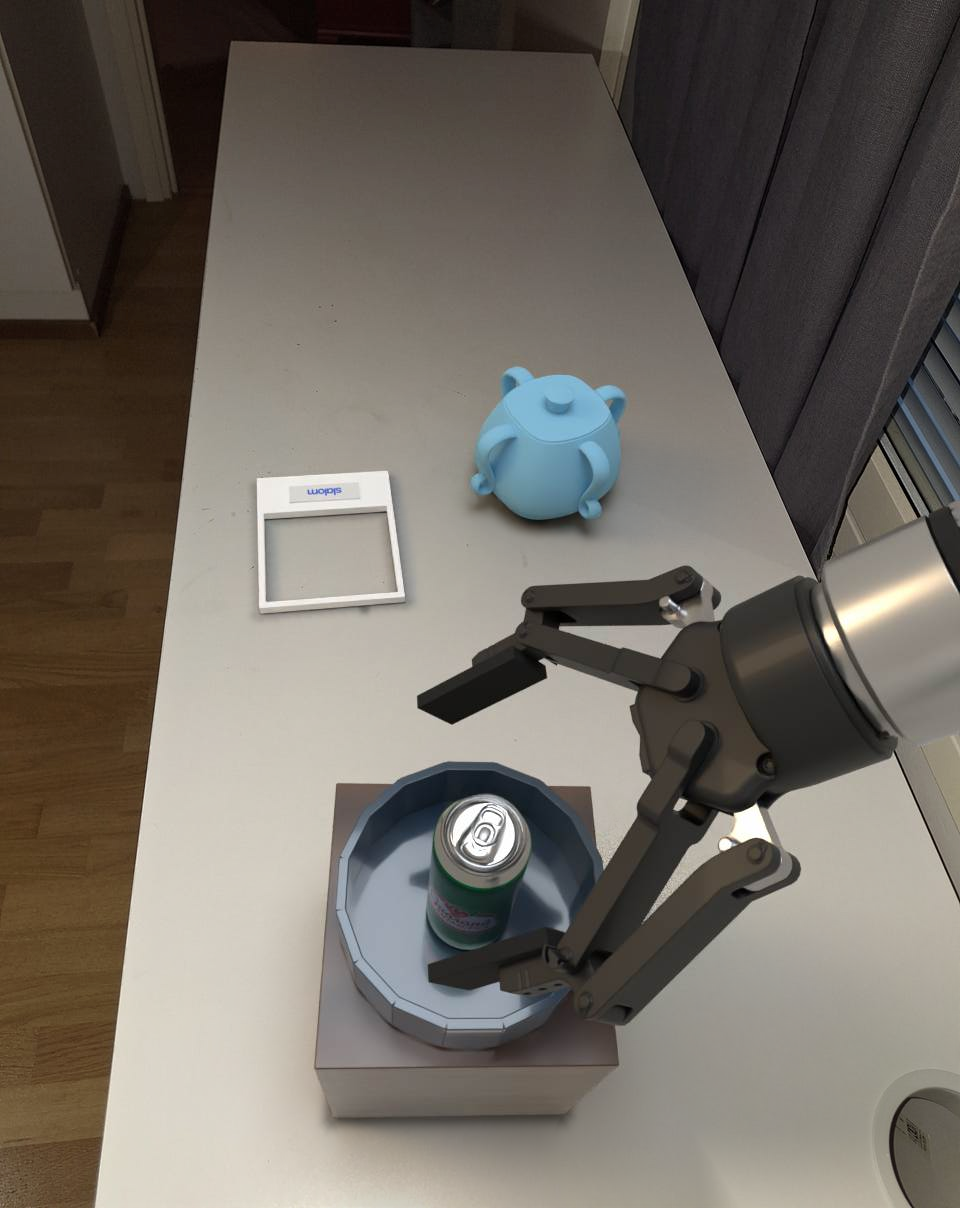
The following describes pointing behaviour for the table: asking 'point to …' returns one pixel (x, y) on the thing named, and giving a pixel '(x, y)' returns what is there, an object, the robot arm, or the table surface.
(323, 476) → the photo frame
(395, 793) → the bowl
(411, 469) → the table surface
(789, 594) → the robot arm
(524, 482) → the decorative pot
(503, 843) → the soda can
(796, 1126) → the table surface
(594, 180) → the table surface
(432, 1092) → the stand
